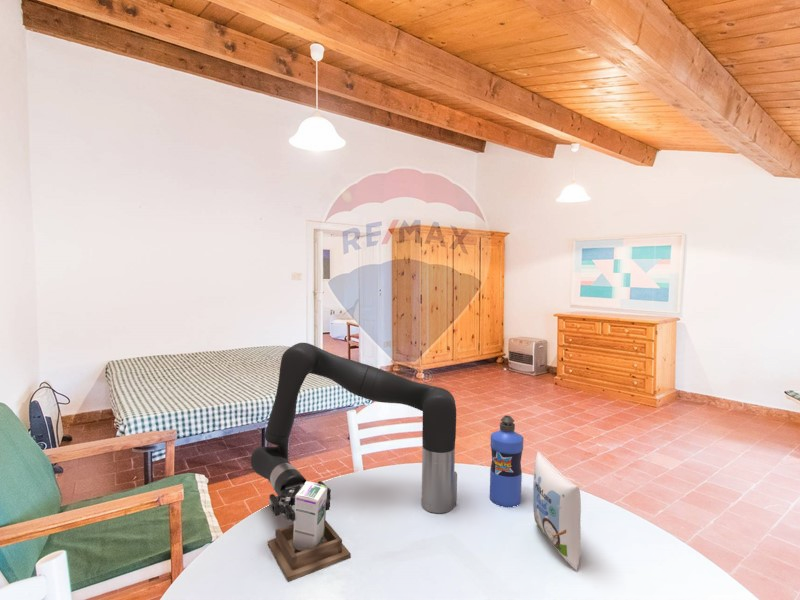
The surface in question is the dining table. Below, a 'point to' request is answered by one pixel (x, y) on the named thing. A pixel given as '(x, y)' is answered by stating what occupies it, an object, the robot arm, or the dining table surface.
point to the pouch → (557, 509)
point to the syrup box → (309, 516)
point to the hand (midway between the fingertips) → (311, 511)
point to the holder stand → (306, 552)
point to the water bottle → (506, 465)
